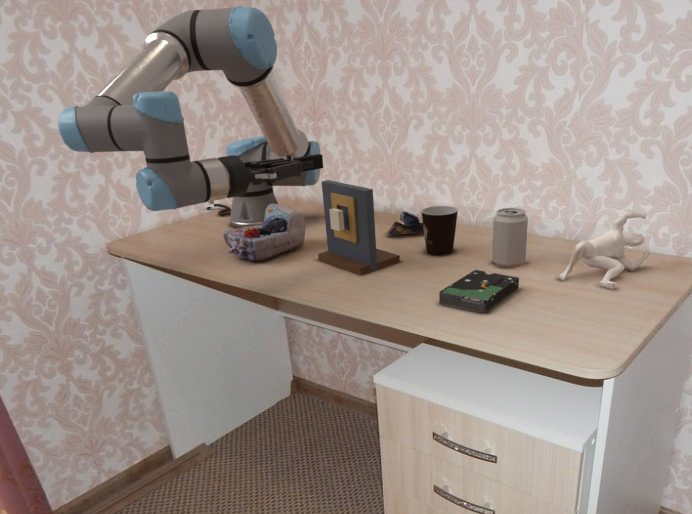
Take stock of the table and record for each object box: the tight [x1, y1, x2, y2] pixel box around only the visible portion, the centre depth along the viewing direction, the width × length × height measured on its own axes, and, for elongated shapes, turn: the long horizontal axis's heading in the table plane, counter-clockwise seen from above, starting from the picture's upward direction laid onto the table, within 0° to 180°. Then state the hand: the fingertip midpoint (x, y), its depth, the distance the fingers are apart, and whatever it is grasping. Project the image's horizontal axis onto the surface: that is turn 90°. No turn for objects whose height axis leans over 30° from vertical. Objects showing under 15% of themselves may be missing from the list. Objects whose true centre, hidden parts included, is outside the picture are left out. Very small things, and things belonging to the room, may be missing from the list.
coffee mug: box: [420, 205, 459, 257], centre depth 150 cm, size 12×9×10 cm
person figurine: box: [559, 210, 652, 290], centre depth 131 cm, size 13×13×18 cm
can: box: [491, 207, 529, 268], centre depth 139 cm, size 8×8×12 cm
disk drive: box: [438, 269, 520, 313], centre depth 124 cm, size 10×3×15 cm
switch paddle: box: [329, 208, 344, 231], centre depth 140 cm, size 1×3×4 cm, turn 42°
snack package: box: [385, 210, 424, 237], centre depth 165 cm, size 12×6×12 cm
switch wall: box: [317, 179, 401, 276], centre depth 144 cm, size 12×16×18 cm
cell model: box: [222, 203, 306, 262], centre depth 155 cm, size 13×11×20 cm
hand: (320, 161), depth 132 cm, fingers closed
